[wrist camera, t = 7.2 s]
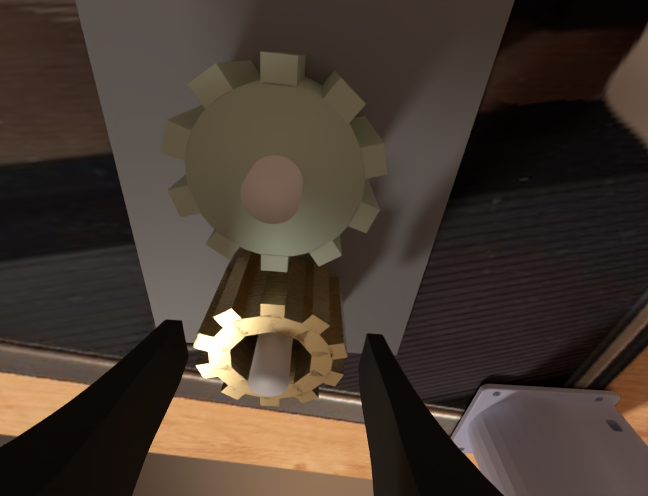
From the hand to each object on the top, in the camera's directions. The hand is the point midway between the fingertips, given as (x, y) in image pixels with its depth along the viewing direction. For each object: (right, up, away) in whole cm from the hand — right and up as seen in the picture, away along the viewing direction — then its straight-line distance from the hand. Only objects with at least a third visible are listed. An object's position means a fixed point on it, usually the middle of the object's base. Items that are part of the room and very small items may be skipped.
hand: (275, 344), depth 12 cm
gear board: (0, +6, +1) cm, 7 cm away
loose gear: (0, +2, +3) cm, 3 cm away
